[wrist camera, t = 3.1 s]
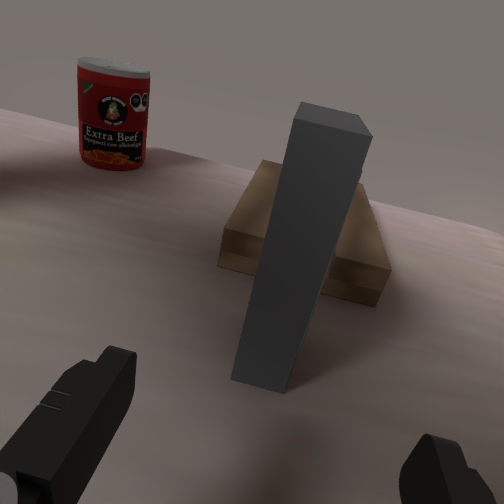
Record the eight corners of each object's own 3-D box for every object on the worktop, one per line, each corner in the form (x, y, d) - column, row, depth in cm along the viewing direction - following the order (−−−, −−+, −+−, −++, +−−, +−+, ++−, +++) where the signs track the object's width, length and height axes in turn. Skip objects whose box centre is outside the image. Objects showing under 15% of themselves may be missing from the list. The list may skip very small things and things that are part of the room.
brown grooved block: (217, 266, 31) (224, 227, 29) (257, 185, 50) (262, 159, 48) (375, 307, 30) (391, 270, 28) (353, 209, 49) (362, 184, 48)
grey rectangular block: (230, 379, 21) (293, 118, 14) (248, 314, 26) (300, 101, 19) (287, 394, 21) (378, 137, 14) (294, 326, 26) (362, 116, 19)
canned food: (75, 167, 43) (72, 60, 38) (83, 147, 49) (81, 54, 44) (145, 174, 45) (151, 75, 40) (144, 154, 52) (149, 67, 47)
